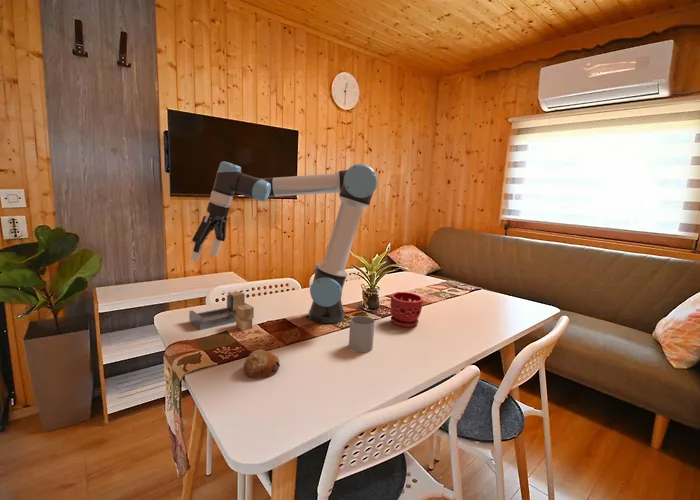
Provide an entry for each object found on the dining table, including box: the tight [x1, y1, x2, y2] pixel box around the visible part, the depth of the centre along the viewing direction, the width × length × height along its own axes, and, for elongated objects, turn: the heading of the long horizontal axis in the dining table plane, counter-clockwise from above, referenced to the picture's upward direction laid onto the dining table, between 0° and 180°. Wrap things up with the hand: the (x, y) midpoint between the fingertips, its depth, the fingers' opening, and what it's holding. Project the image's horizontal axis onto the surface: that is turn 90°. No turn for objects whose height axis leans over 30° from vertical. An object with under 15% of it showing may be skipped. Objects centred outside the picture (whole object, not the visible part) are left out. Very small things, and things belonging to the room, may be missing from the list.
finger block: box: [235, 305, 253, 332], centre depth 138 cm, size 4×6×8 cm
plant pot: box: [390, 291, 424, 328], centre depth 152 cm, size 13×13×12 cm
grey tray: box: [188, 291, 254, 331], centre depth 144 cm, size 10×22×10 cm, turn 134°
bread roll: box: [243, 349, 281, 379], centre depth 107 cm, size 10×10×8 cm
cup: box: [348, 315, 375, 354], centre depth 126 cm, size 8×8×10 cm
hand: (204, 257), depth 136 cm, fingers open, 13 cm apart
